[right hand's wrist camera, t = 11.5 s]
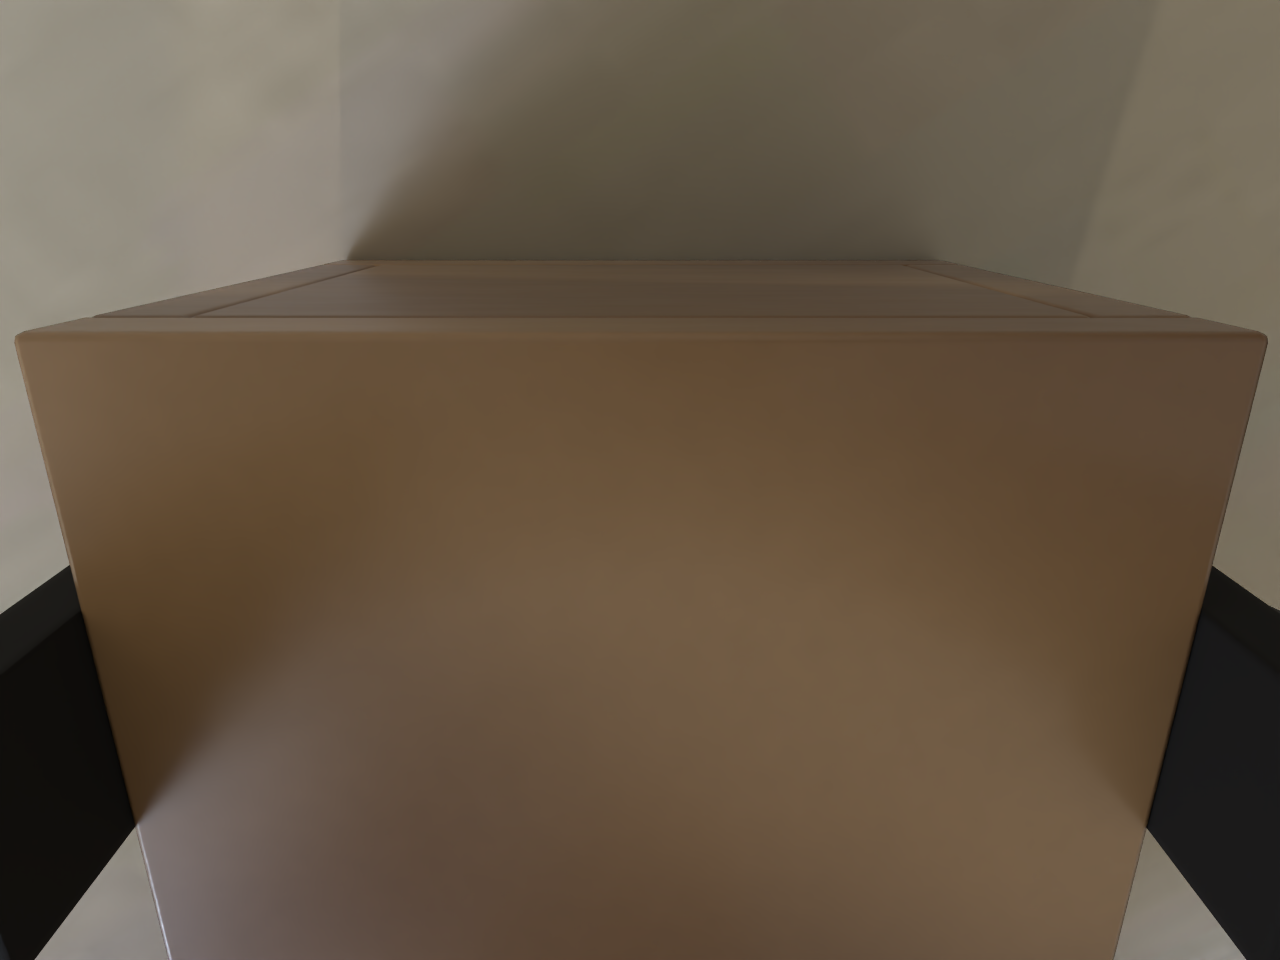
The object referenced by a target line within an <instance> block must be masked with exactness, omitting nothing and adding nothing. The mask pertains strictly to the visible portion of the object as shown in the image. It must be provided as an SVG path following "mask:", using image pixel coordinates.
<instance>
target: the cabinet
mask: <svg viewBox="0 0 1280 960" xmlns="http://www.w3.org/2000/svg"><path fill="white" fill-rule="evenodd" d="M14 343H15V347H16V351H17V355H18V359H19V363H20V367H21V371H22V375H23V379H24V383H25V387H26V391H27V395H28V399H29V403H30V407H31V411H32V415H33V419H34V423H35V427H36V431H37V435H38V439H39V443H40V447H41V451H42V455H43V459H44V463H45V467H46V471H47V475H48V479H49V483H50V487H51V491H52V495H53V499H54V503H55V507H56V511H57V515H58V519H59V523H60V527H61V531H62V535H63V539H64V543H65V547H66V551H67V555H68V559H69V563H70V567H71V571H72V575H73V579H74V583H75V587H76V591H77V595H78V599H79V603H80V607H81V611H82V615H83V619H84V623H85V627H86V631H87V635H88V639H89V643H90V647H91V651H92V655H93V659H94V663H95V667H96V671H97V675H98V679H99V683H100V687H101V691H102V695H103V699H104V703H105V707H106V711H107V715H108V719H109V723H110V727H111V731H112V735H113V739H114V743H115V747H116V751H117V755H118V759H119V763H120V767H121V771H122V775H123V779H124V783H125V787H126V791H127V795H128V799H129V803H130V807H131V811H132V815H133V819H134V823H135V827H136V831H137V835H138V839H139V843H140V847H141V851H142V855H143V859H144V863H145V867H146V871H147V875H148V879H149V883H150V887H151V891H152V895H153V899H154V903H155V907H156V911H157V915H158V919H159V923H160V928H161V932H162V936H163V940H164V944H165V948H166V952H167V956H168V960H1114V956H1115V952H1116V948H1117V944H1118V940H1119V936H1120V932H1121V928H1122V924H1123V920H1124V916H1125V912H1126V908H1127V904H1128V900H1129V896H1130V892H1131V888H1132V884H1133V880H1134V876H1135V872H1136V868H1137V864H1138V860H1139V856H1140V852H1141V848H1142V844H1143V840H1144V836H1145V832H1146V828H1147V824H1148V820H1149V816H1150V812H1151V808H1152V804H1153V800H1154V796H1155V792H1156V788H1157V784H1158V780H1159V776H1160V772H1161V768H1162V764H1163V760H1164V756H1165V752H1166V748H1167V744H1168V740H1169V736H1170V732H1171V728H1172V724H1173V720H1174V716H1175V712H1176V708H1177V704H1178V700H1179V696H1180V692H1181V688H1182V684H1183V680H1184V676H1185V672H1186V668H1187V664H1188V660H1189V656H1190V652H1191V648H1192V644H1193V640H1194V636H1195V632H1196V628H1197V624H1198V620H1199V616H1200V612H1201V608H1202V604H1203V600H1204V596H1205V592H1206V588H1207V584H1208V580H1209V576H1210V572H1211V568H1212V564H1213V560H1214V556H1215V552H1216V548H1217V544H1218V540H1219V536H1220V532H1221V528H1222V524H1223V520H1224V516H1225V512H1226V508H1227V504H1228V500H1229V496H1230V492H1231V488H1232V484H1233V480H1234V476H1235V472H1236V468H1237V464H1238V460H1239V456H1240V452H1241V448H1242V444H1243V440H1244V436H1245V432H1246V428H1247V424H1248V420H1249V416H1250V412H1251V408H1252V404H1253V400H1254V396H1255V392H1256V388H1257V384H1258V380H1259V376H1260V372H1261V368H1262V364H1263V360H1264V356H1265V352H1266V348H1267V344H1268V340H1267V336H1266V335H1265V334H1262V333H1260V332H1258V331H1254V330H1249V329H1245V328H1240V327H1236V326H1231V325H1227V324H1222V323H1218V322H1213V321H1209V320H1204V319H1200V318H1191V317H1189V316H1187V315H1183V314H1178V313H1174V312H1169V311H1165V310H1160V309H1156V308H1151V307H1147V306H1142V305H1138V304H1133V303H1129V302H1124V301H1120V300H1115V299H1111V298H1106V297H1102V296H1098V295H1093V294H1089V293H1084V292H1080V291H1075V290H1071V289H1066V288H1062V287H1057V286H1053V285H1048V284H1044V283H1039V282H1035V281H1030V280H1026V279H1021V278H1017V277H1012V276H1008V275H1003V274H999V273H995V272H990V271H986V270H981V269H977V268H972V267H968V266H963V265H958V264H955V263H950V262H946V261H941V260H341V261H337V262H332V263H328V264H324V265H320V266H315V267H311V268H306V269H302V270H297V271H293V272H288V273H284V274H279V275H275V276H270V277H266V278H261V279H257V280H252V281H248V282H243V283H239V284H234V285H230V286H225V287H221V288H216V289H212V290H208V291H203V292H199V293H194V294H190V295H185V296H181V297H176V298H172V299H167V300H163V301H158V302H154V303H149V304H145V305H140V306H136V307H131V308H127V309H122V310H118V311H113V312H109V313H104V314H100V315H96V316H94V317H92V318H82V319H77V320H73V321H68V322H64V323H59V324H55V325H50V326H46V327H41V328H37V329H33V330H28V331H24V332H22V333H20V334H18V335H16V336H15V342H14Z"/></svg>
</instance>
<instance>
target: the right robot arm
mask: <svg viewBox="0 0 1280 960" xmlns="http://www.w3.org/2000/svg"><path fill="white" fill-rule="evenodd" d="M134 827H135V823H134V819H133V815H132V811H131V807H130V803H129V799H128V795H127V791H126V787H125V783H124V779H123V775H122V771H121V767H120V763H119V759H118V755H117V751H116V747H115V743H114V739H113V735H112V731H111V727H110V723H109V719H108V715H107V711H106V707H105V703H104V699H103V695H102V691H101V687H100V683H99V679H98V675H97V671H96V667H95V663H94V659H93V655H92V651H91V647H90V643H89V639H88V635H87V631H86V627H85V623H84V619H83V615H82V611H81V607H80V603H79V599H78V595H77V591H76V587H75V583H74V579H73V575H72V571H71V567H70V565H69V566H68V567H66V568H65V569H63V570H62V571H61V572H59V573H58V574H56V575H55V576H54V577H52V578H51V579H49V580H48V581H47V582H45V583H44V584H42V585H41V586H40V587H38V588H37V589H35V590H34V591H32V592H31V593H30V594H28V595H27V596H25V597H24V598H23V599H21V600H20V601H18V602H17V603H16V604H14V605H13V606H11V607H10V608H9V609H7V610H6V611H4V612H3V613H2V614H0V960H35V958H36V957H37V956H38V954H39V953H40V952H41V950H42V949H43V948H44V946H45V945H46V944H47V942H48V941H49V940H50V938H51V937H52V936H53V934H54V933H55V932H56V931H57V929H58V928H59V927H60V925H61V924H62V923H63V921H64V920H65V919H66V917H67V916H68V915H69V913H70V912H71V911H72V909H73V908H74V907H75V905H76V904H77V903H78V901H79V900H80V899H81V897H82V896H83V895H84V894H85V892H86V891H87V890H88V888H89V887H90V886H91V884H92V883H93V882H94V880H95V879H96V878H97V876H98V875H99V874H100V872H101V871H102V870H103V868H104V867H105V866H106V864H107V863H108V862H109V860H110V859H111V858H112V857H113V855H114V854H115V853H116V851H117V850H118V849H119V847H120V846H121V845H122V843H123V842H124V841H125V839H126V838H127V837H128V835H129V834H130V833H131V831H132V830H133V829H134ZM1147 829H1148V830H1149V831H1150V833H1151V834H1152V835H1153V837H1154V838H1155V839H1156V841H1157V842H1158V843H1159V845H1160V846H1161V847H1162V849H1163V850H1164V851H1165V853H1166V854H1167V855H1168V857H1169V858H1170V859H1171V860H1172V862H1173V863H1174V864H1175V866H1176V867H1177V868H1178V870H1179V871H1180V872H1181V874H1182V875H1183V876H1184V878H1185V879H1186V880H1187V882H1188V883H1189V884H1190V886H1191V887H1192V888H1193V890H1194V891H1195V892H1196V894H1197V895H1198V896H1199V897H1200V899H1201V900H1202V901H1203V903H1204V904H1205V905H1206V907H1207V908H1208V909H1209V911H1210V912H1211V913H1212V915H1213V916H1214V917H1215V919H1216V920H1217V921H1218V923H1219V924H1220V925H1221V927H1222V928H1223V929H1224V931H1225V932H1226V933H1227V934H1228V936H1229V937H1230V938H1231V940H1232V941H1233V942H1234V944H1235V945H1236V946H1237V948H1238V949H1239V950H1240V952H1241V953H1242V954H1243V956H1244V957H1245V958H1246V960H1280V610H1277V609H1275V608H1273V607H1271V606H1268V605H1267V604H1265V603H1264V602H1263V601H1261V600H1260V599H1258V598H1257V597H1256V596H1254V595H1253V594H1251V593H1250V592H1249V591H1247V590H1246V589H1244V588H1243V587H1242V586H1240V585H1239V584H1237V583H1236V582H1235V581H1233V580H1232V579H1230V578H1229V577H1228V576H1226V575H1225V574H1223V573H1222V572H1220V571H1219V570H1218V569H1216V568H1215V567H1213V566H1212V568H1211V572H1210V576H1209V580H1208V584H1207V588H1206V592H1205V596H1204V600H1203V604H1202V608H1201V612H1200V616H1199V620H1198V624H1197V628H1196V632H1195V636H1194V640H1193V644H1192V648H1191V652H1190V656H1189V660H1188V664H1187V668H1186V672H1185V676H1184V680H1183V684H1182V688H1181V692H1180V696H1179V700H1178V704H1177V708H1176V712H1175V716H1174V720H1173V724H1172V728H1171V732H1170V736H1169V740H1168V744H1167V748H1166V752H1165V756H1164V760H1163V764H1162V768H1161V772H1160V776H1159V780H1158V784H1157V788H1156V792H1155V796H1154V800H1153V804H1152V808H1151V812H1150V816H1149V820H1148V824H1147Z"/></svg>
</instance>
